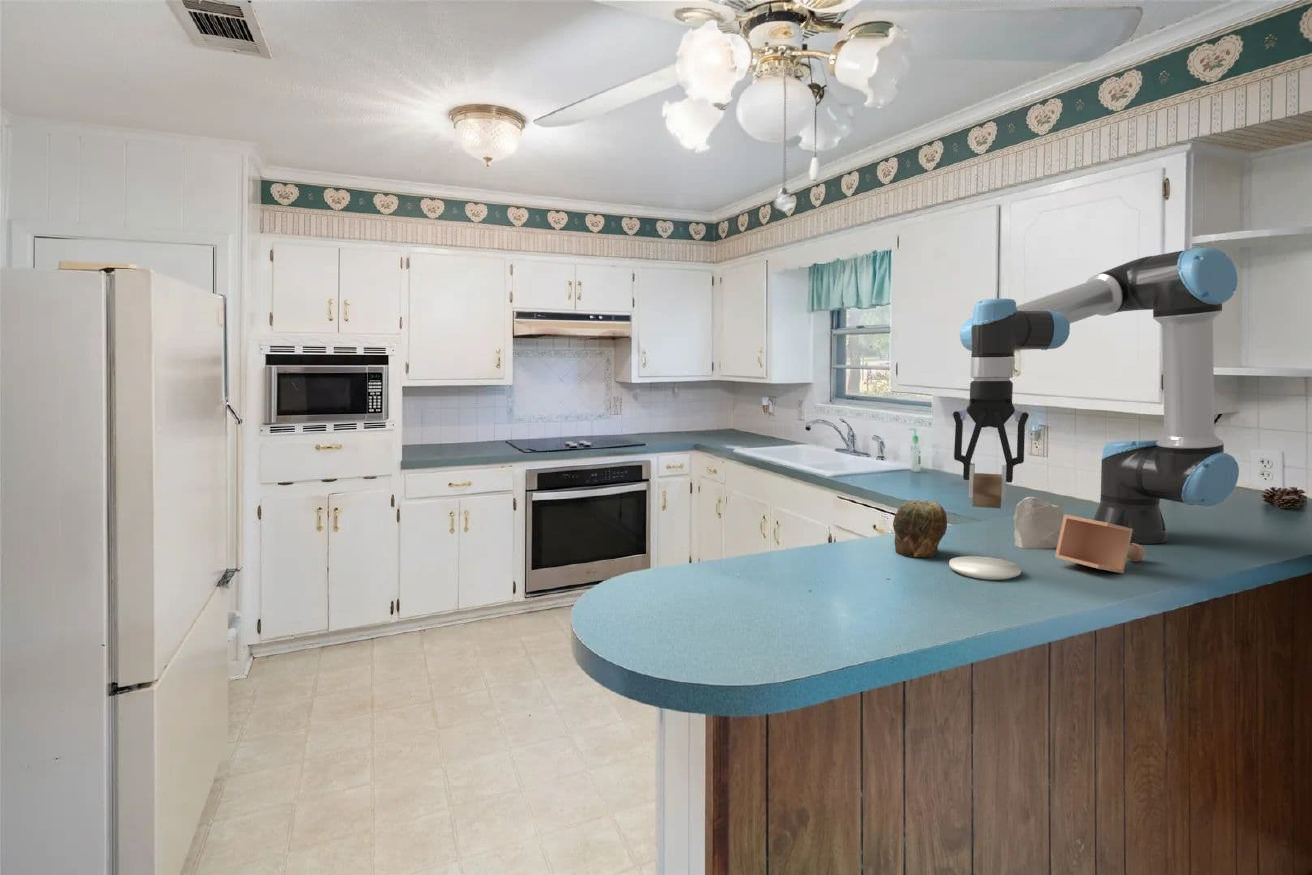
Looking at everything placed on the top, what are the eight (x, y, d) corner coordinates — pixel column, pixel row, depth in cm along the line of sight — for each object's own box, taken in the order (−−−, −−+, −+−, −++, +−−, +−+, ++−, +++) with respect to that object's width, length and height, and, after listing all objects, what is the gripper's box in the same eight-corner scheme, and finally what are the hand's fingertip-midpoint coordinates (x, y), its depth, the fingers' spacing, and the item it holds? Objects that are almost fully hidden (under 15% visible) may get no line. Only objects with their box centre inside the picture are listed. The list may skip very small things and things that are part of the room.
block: (1000, 504, 139) (1001, 474, 139) (1000, 508, 135) (1001, 477, 134) (973, 502, 142) (974, 472, 141) (972, 506, 137) (973, 476, 137)
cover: (1054, 557, 142) (1113, 569, 150) (1097, 568, 134) (1157, 580, 142) (1064, 514, 142) (1122, 528, 150) (1107, 522, 134) (1167, 537, 142)
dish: (998, 561, 146) (998, 555, 146) (1035, 580, 133) (1035, 573, 133) (937, 563, 146) (938, 557, 145) (968, 582, 133) (968, 575, 133)
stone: (1055, 544, 160) (1058, 494, 159) (1064, 550, 155) (1067, 498, 154) (1008, 542, 162) (1010, 493, 161) (1015, 548, 157) (1017, 497, 156)
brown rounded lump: (938, 563, 146) (939, 506, 145) (886, 555, 153) (887, 501, 151) (952, 552, 155) (953, 498, 153) (902, 545, 161) (903, 494, 160)
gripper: (1043, 379, 135) (1038, 497, 137) (943, 379, 143) (939, 491, 145) (1045, 380, 128) (1039, 504, 131) (939, 380, 137) (936, 497, 139)
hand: (986, 497), depth 138 cm, fingers closed on block, 5 cm apart
